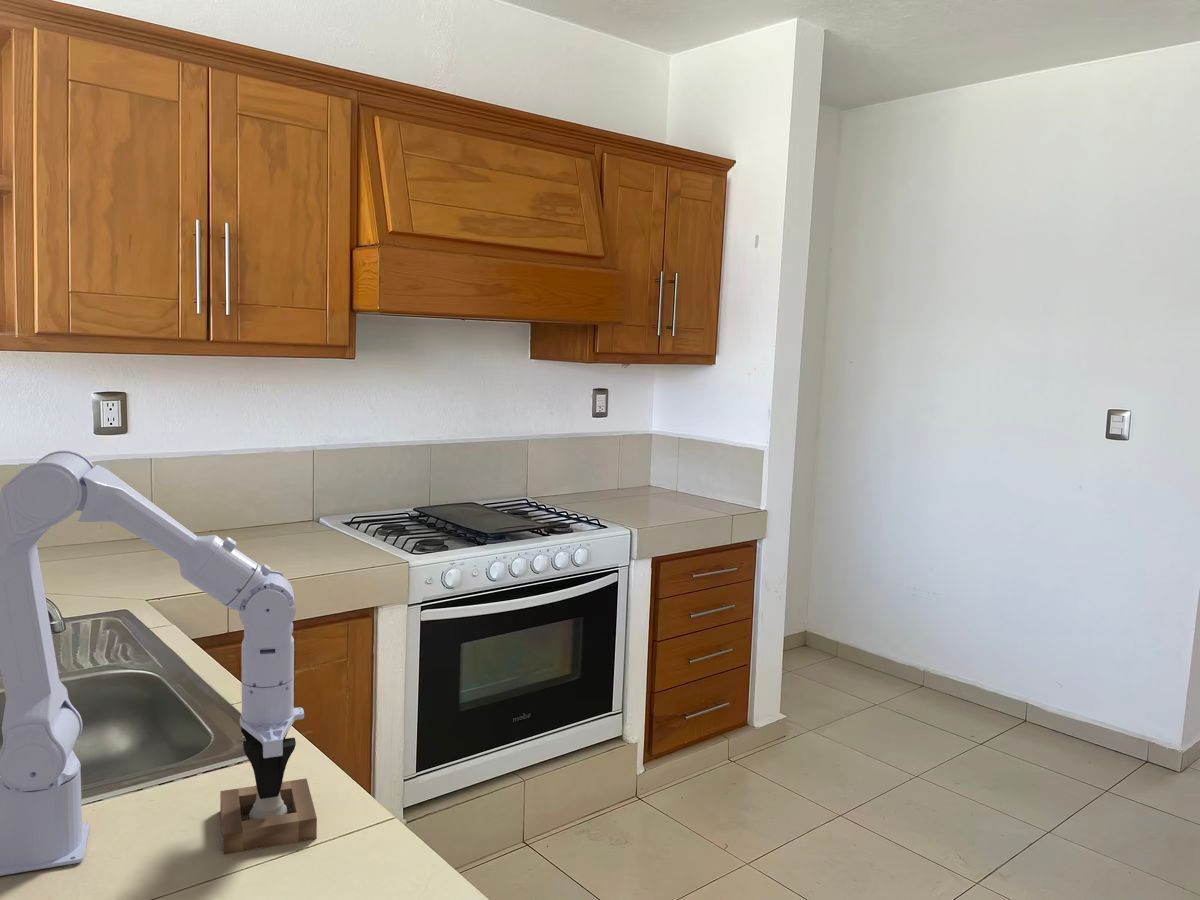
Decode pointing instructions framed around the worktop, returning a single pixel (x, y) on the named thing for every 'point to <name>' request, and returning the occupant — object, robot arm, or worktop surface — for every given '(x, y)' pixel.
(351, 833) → the worktop surface
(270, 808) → the rook chess piece
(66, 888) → the worktop surface
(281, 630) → the robot arm
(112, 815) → the worktop surface
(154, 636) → the worktop surface
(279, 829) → the walnut docking collar
